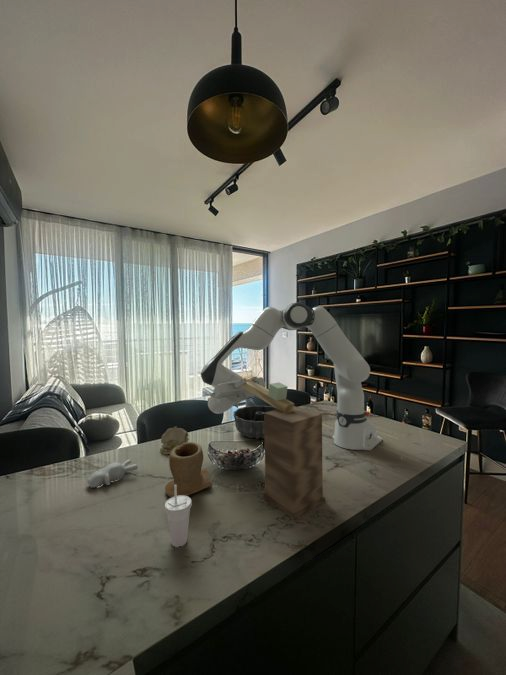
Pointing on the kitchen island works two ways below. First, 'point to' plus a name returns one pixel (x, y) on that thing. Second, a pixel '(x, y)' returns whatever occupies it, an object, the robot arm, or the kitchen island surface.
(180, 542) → the smoothie
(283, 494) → the walnut block
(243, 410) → the bundt pan
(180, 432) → the ceramic model
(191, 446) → the stone cup
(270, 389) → the sage cube
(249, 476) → the kitchen island surface
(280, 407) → the oak slat
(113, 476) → the bunny figurine
